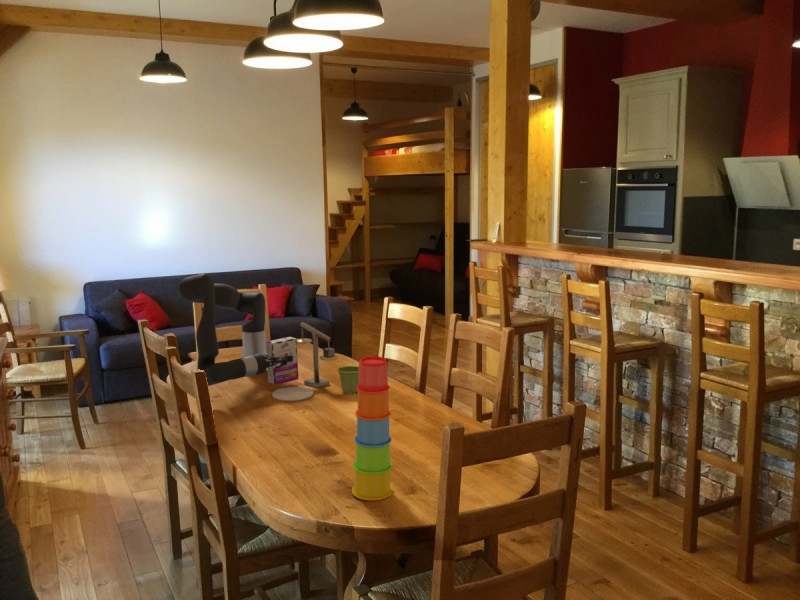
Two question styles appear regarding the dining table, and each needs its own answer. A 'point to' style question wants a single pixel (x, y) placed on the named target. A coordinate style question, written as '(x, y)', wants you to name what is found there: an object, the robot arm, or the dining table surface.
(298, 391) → the dish
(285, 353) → the candy bar box
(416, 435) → the dining table surface
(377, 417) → the stacking cups
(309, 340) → the balance
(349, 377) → the plant pot
